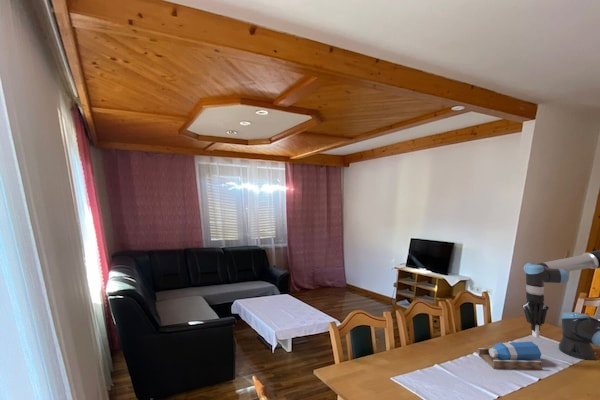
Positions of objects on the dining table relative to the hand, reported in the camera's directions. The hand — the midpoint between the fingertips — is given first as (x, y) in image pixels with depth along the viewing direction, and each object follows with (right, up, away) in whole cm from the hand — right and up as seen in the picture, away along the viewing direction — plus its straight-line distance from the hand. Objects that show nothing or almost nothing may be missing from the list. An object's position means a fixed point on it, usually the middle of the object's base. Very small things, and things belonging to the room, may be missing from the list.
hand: (535, 336), depth 151 cm
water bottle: (0, -9, +1) cm, 9 cm away
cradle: (-15, -14, 0) cm, 21 cm away
